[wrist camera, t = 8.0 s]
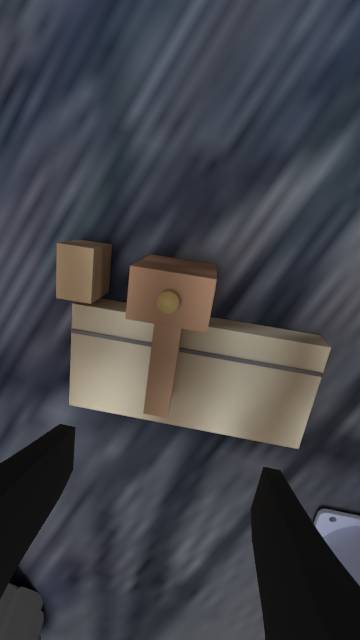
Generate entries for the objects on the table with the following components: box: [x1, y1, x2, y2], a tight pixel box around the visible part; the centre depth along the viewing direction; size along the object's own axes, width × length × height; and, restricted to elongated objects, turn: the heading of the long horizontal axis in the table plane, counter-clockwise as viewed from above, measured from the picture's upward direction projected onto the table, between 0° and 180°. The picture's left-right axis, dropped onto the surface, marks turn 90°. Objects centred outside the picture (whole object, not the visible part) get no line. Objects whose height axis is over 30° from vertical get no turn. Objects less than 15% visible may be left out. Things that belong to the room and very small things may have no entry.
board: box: [69, 298, 331, 449], centre depth 20 cm, size 15×7×2 cm, turn 82°
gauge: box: [125, 254, 217, 418], centre depth 18 cm, size 4×8×6 cm, turn 172°
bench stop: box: [56, 240, 112, 304], centre depth 18 cm, size 2×3×3 cm, turn 172°
